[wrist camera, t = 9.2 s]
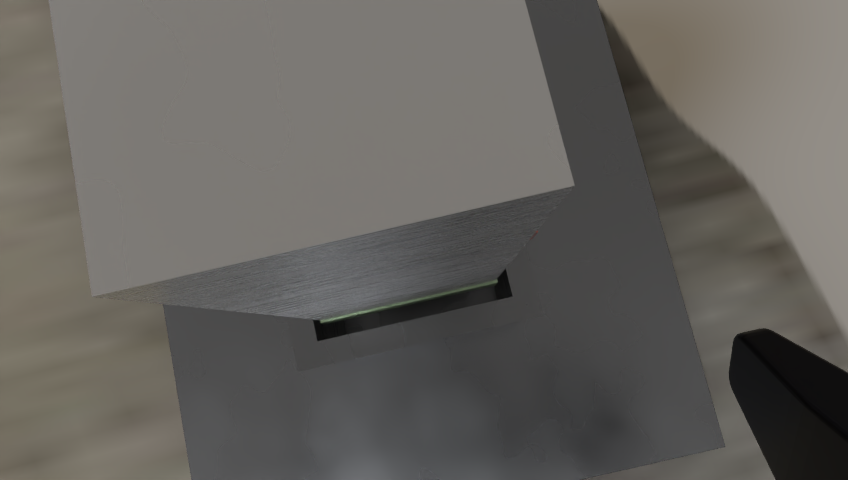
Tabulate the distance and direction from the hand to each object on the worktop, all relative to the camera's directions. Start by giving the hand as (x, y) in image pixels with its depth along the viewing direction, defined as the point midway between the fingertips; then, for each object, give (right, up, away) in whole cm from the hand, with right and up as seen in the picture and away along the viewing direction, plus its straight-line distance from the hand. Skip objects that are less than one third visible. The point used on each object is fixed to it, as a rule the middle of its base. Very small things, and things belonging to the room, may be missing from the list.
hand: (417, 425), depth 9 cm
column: (-1, +3, +7) cm, 8 cm away
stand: (0, +2, +13) cm, 13 cm away
